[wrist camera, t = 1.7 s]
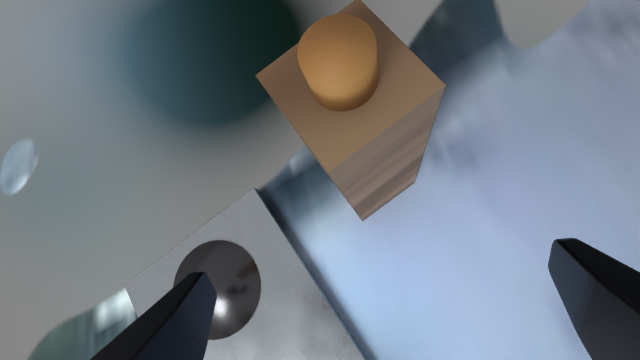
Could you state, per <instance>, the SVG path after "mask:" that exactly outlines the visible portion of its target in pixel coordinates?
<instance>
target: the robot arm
mask: <svg viewBox="0 0 640 360" xmlns="http://www.w3.org/2000/svg"><path fill="white" fill-rule="evenodd" d="M548 268H549V272H550V275H551V277H552V279H553V282H554V284H555V286H556V288H557V290H558V293H559V295H560V297H561V299H562V301H563V304H564V306H565V308H566V310H567V312H568V315H569V317H570V319H571V321H572V323H573V326H574V328H575V330H576V332H577V334H578V336H579V338H580V339H581V341H582V343H583V345H584V347H585V348H586V350H587V352H588V353H589V355H590V357H591V358H592V360H640V272H638V271H636V270H634V269H633V268H631V267H629V266H627V265H625V264H623V263H621V262H619V261H618V260H616V259H614V258H612V257H610V256H608V255H606V254H604V253H603V252H601V251H599V250H597V249H595V248H593V247H591V246H589V245H588V244H586V243H584V242H582V241H580V240H578V239H576V238H564V239H556V240H554V242H553V244H552V248H551V253H550V258H549V263H548ZM216 300H217V292H216V289H215V287H214V285H213V283H212V281H211V280H210V278H209V276H208V274H207V273H206V272H204V271H200V272H192V273H190V274H188V275H187V276H186V277H185V278H184V279H182V280H181V281H180V282H179V283H178V284H177V285H176V286H174V287H173V288H172V289H171V290H170V291H169V292H167V293H166V294H165V295H164V296H163V297H162V298H161V299H159V300H158V301H157V302H156V303H155V304H154V305H152V306H151V307H150V308H149V309H148V310H147V311H145V312H144V313H143V314H142V315H141V316H140V317H139V318H137V319H136V320H135V321H134V322H133V323H132V324H130V325H129V326H128V327H127V328H126V329H125V330H123V331H122V332H121V333H120V334H119V335H118V336H117V337H115V338H114V339H113V340H112V341H111V342H110V343H108V344H107V345H106V346H105V347H104V348H103V349H101V350H100V351H99V352H98V353H97V354H96V355H95V356H93V357H92V358H91V359H90V360H203V359H204V356H205V352H206V348H207V344H208V339H209V334H210V329H211V324H212V320H213V315H214V310H215V305H216Z"/></svg>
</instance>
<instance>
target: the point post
mask: <svg viewBox="0 0 640 360" xmlns="http://www.w3.org/2000/svg"><path fill="white" fill-rule="evenodd" d="M256 77H257V78H258V80H259V81H260V83H261V84H262V85H263V87H264V88H265V89H266V91H267V92H268V93H269V95H270V96H271V98H272V99H273V100H274V102H275V103H276V104H277V106H278V107H279V109H280V110H281V111H282V113H283V114H284V115H285V117H286V118H287V119H288V120H289V122H290V124H291V125H292V126H293V128H294V129H295V130H296V132H297V133H298V134H299V136H300V137H301V139H302V140H303V141H304V143H305V144H306V145H307V147H308V148H309V150H310V151H311V152H312V154H313V155H314V156H315V158H316V159H317V161H318V162H319V163H320V165H321V166H322V167H323V169H324V170H325V171H326V173H327V174H328V176H329V177H330V178H331V180H332V181H333V182H334V184H335V185H336V186H337V188H338V189H339V190H340V192H341V193H342V194H343V196H344V197H345V198H346V200H347V201H348V202H349V204H350V205H351V206H352V208H353V209H354V210H355V212H356V213H357V214H358V216H359V217H360V218H361V220H362V221H363V220H365V219H366V218H367V217H369V216H370V215H372V214H373V213H374V212H376V211H377V210H378V209H380V208H381V207H382V206H384V205H385V204H386V203H388V202H389V201H391V200H392V199H393V198H395V197H396V196H397V195H399V194H400V193H401V192H403V191H404V190H405V189H407V188H408V187H409V186H411V185H412V184H414V182H415V179H416V176H417V173H418V170H419V167H420V163H421V160H422V157H423V154H424V151H425V148H426V145H427V142H428V139H429V135H430V132H431V129H432V126H433V123H434V120H435V117H436V114H437V110H438V107H439V104H440V101H441V98H442V95H443V92H444V89H445V86H446V85H445V84H444V83H443V82H442V81H441V80H440V79H439V78H438V77H437V76H436V75H435V74H434V73H433V72H432V71H431V70H430V69H429V68H428V67H427V66H426V65H425V64H424V63H423V62H422V61H421V60H420V59H419V58H418V57H417V56H416V55H415V54H414V53H413V52H412V51H411V50H410V49H409V48H408V47H407V46H406V45H405V44H404V43H403V42H402V41H401V40H400V39H399V38H398V37H397V36H396V35H395V34H394V33H393V32H392V31H391V30H390V29H389V28H388V27H387V26H386V25H385V24H384V23H383V22H382V21H381V20H380V19H379V18H378V17H377V16H376V15H375V14H374V13H373V12H372V11H371V10H370V9H369V8H368V7H367V6H366V5H365V4H364V3H363V2H362V1H361V0H354V1H353V2H352V3H350V4H349V5H348V6H346V7H345V8H344V9H342V10H341V11H340V12H338V13H337V14H336V15H331V16H327V17H325V18H322V19H320V20H318V21H317V22H315V23H314V24H313V25H311V26H310V27H309V28H308V29H307V30H306V32H305V33H304V34H303V36H302V38H301V40H300V42H299V43H298V44H296V45H295V46H294V47H292V48H291V49H290V50H288V51H287V52H286V53H285V54H283V55H282V56H281V57H279V58H278V59H277V60H275V61H274V62H273V63H272V64H270V65H269V66H267V67H266V68H265V69H263V70H262V71H261V72H260V73H258V74H257V75H256Z"/></svg>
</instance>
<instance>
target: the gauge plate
mask: <svg viewBox="0 0 640 360" xmlns="http://www.w3.org/2000/svg"><path fill="white" fill-rule="evenodd" d="M200 271H204V272H206V273H207V274H208V276H209V278H210V280H211V281H212V283H213V285H214V287H215V289H216V292H217V300H216V305H215V310H214V315H213V320H212V324H211V329H210V334H209V339H208V344H207V348H206V352H205V356H204V359H203V360H367V359H366V357H365V356H364V354H363V353H362V351H361V350H360V348H359V346H358V345H357V343H356V342H355V340H354V339H353V337H352V336H351V334H350V333H349V331H348V329H347V328H346V326H345V325H344V323H343V322H342V320H341V319H340V317H339V316H338V314H337V312H336V311H335V309H334V308H333V306H332V305H331V303H330V302H329V300H328V299H327V297H326V295H325V294H324V292H323V291H322V289H321V288H320V286H319V285H318V283H317V281H316V280H315V278H314V277H313V275H312V274H311V272H310V271H309V269H308V268H307V266H306V264H305V263H304V261H303V260H302V258H301V257H300V255H299V254H298V252H297V251H296V249H295V247H294V246H293V244H292V243H291V241H290V240H289V238H288V237H287V235H286V234H285V232H284V230H283V229H282V227H281V226H280V224H279V223H278V221H277V220H276V218H275V217H274V215H273V213H272V212H271V210H270V209H269V207H268V206H267V204H266V203H265V201H264V200H263V198H262V196H261V195H260V193H259V192H258V190H257V189H255V188H252V189H251V190H250V191H248V192H247V193H246V194H244V195H243V196H242V197H240V198H239V199H238V200H236V201H235V202H234V203H232V204H231V205H230V206H228V207H227V208H226V209H224V210H223V211H222V212H220V213H219V214H218V215H216V216H215V217H214V218H212V219H211V220H210V221H208V222H207V223H206V224H204V225H203V226H202V227H200V228H199V229H198V230H196V231H195V232H194V233H192V234H191V235H190V236H188V237H187V238H186V239H184V240H183V241H182V242H180V243H179V244H178V245H176V246H175V247H173V248H172V249H171V250H169V251H168V252H167V253H165V254H164V255H163V256H161V257H160V258H159V259H157V260H156V261H155V262H153V263H152V264H151V265H149V266H148V267H147V268H145V269H144V270H143V271H141V272H140V273H139V274H137V275H136V276H135V277H133V278H132V279H131V280H129V281H128V282H127V283H125V284H124V286H125V288H126V290H127V292H128V295H129V297H130V299H131V302H132V304H133V306H134V309H135V311H136V313H137V315H138V318H139V317H140V316H141V315H142V314H143V313H144V312H145V311H147V310H148V309H149V308H150V307H151V306H152V305H154V304H155V303H156V302H157V301H158V300H159V299H161V298H162V297H163V296H164V295H165V294H166V293H167V292H169V291H170V290H171V289H172V288H173V287H174V286H176V285H177V284H178V283H179V282H180V281H181V280H182V279H184V278H185V277H186V276H187V275H188V274H190V273H192V272H200Z"/></svg>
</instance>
